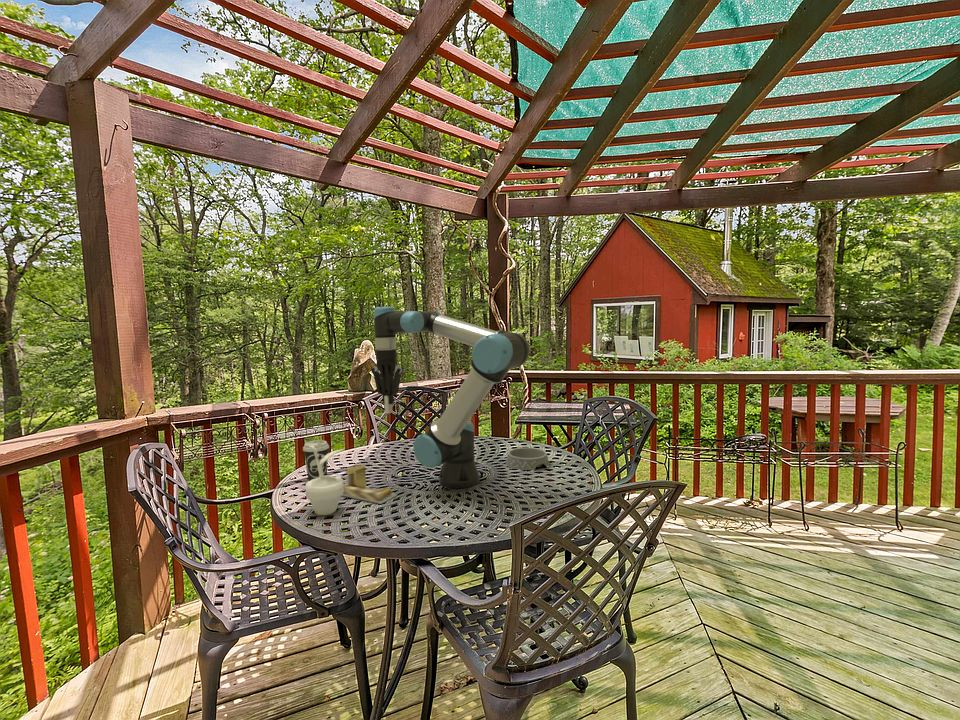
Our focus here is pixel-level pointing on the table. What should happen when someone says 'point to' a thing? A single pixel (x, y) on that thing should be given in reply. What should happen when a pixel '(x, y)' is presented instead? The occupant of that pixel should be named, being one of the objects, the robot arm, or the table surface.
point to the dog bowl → (526, 458)
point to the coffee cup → (311, 459)
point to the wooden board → (372, 500)
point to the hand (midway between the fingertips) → (388, 412)
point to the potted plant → (324, 487)
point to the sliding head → (356, 477)
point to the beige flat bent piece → (366, 493)
